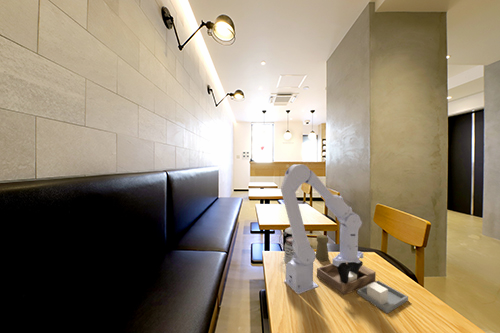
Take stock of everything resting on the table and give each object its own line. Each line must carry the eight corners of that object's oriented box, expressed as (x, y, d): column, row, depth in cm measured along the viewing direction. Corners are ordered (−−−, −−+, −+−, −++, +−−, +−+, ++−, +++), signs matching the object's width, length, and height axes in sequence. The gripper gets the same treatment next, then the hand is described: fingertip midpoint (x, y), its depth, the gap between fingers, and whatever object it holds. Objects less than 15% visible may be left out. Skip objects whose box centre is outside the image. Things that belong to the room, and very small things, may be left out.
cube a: (387, 301, 57) (387, 289, 57) (380, 305, 56) (380, 292, 56) (374, 293, 61) (374, 281, 61) (367, 297, 59) (367, 285, 59)
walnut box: (343, 296, 60) (343, 284, 60) (316, 276, 71) (316, 267, 71) (375, 281, 68) (375, 271, 68) (347, 266, 79) (347, 257, 78)
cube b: (349, 288, 63) (349, 277, 63) (339, 282, 67) (339, 271, 67) (356, 285, 65) (356, 274, 65) (346, 279, 69) (346, 268, 69)
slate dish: (387, 314, 53) (387, 308, 53) (357, 294, 61) (357, 289, 61) (408, 301, 58) (408, 296, 58) (378, 285, 66) (378, 280, 66)
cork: (331, 262, 82) (331, 238, 81) (317, 262, 82) (318, 238, 82) (325, 255, 88) (326, 233, 88) (313, 255, 88) (313, 233, 88)
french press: (301, 269, 76) (302, 210, 76) (275, 261, 82) (276, 206, 82) (306, 259, 84) (307, 205, 84) (283, 252, 90) (284, 202, 90)
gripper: (345, 252, 59) (344, 293, 59) (372, 244, 66) (371, 281, 66) (327, 243, 66) (327, 281, 66) (353, 237, 72) (352, 271, 72)
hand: (348, 280), depth 66 cm, fingers closed on cube b, 4 cm apart
